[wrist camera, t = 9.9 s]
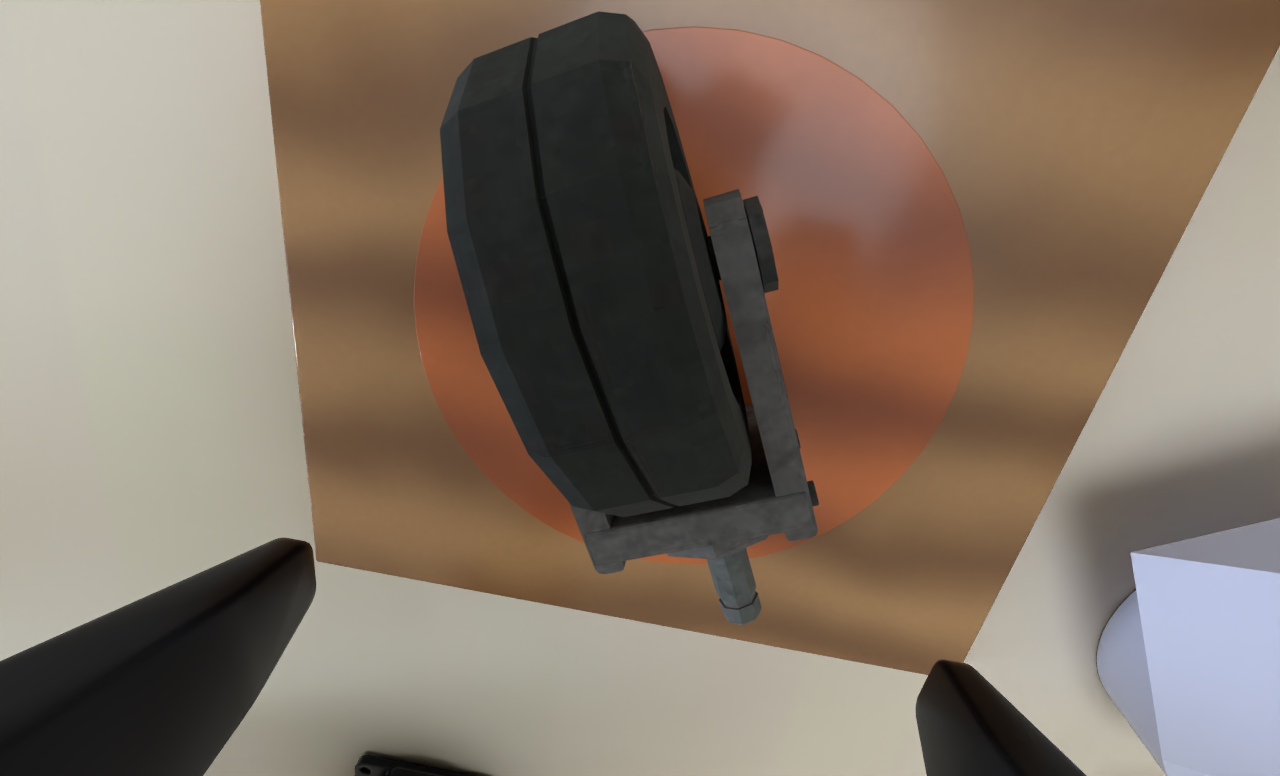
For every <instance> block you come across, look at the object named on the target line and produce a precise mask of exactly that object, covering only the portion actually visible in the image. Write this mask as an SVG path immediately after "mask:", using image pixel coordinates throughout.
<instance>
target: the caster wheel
mask: <svg viewBox="0 0 1280 776" xmlns="http://www.w3.org/2000/svg"><path fill="white" fill-rule="evenodd" d="M440 140H441V154H442V168H443V182H444V197H445V211H446V225H447V234H448V237H449V241H450V244H451V248H452V252H453V255H454V259H455V263H456V266H457V270H458V273H459V277H460V281H461V284H462V288H463V292H464V295H465V299H466V303H467V306H468V310H469V313H470V317H471V321H472V324H473V328H474V332H475V335H476V339H477V343H478V346H479V350H480V353H481V356H482V358H483V360H484V362H485V365H486V367H487V369H488V371H489V373H490V375H491V377H492V379H493V381H494V383H495V386H496V388H497V390H498V392H499V394H500V396H501V398H502V400H503V402H504V404H505V407H506V409H507V411H508V413H509V415H510V417H511V419H512V421H513V423H514V425H515V428H516V430H517V432H518V434H519V436H520V438H521V440H522V442H523V444H524V446H525V449H526V451H527V453H528V455H529V456H530V457H531V458H532V459H533V461H534V462H535V463H536V464H537V465H538V466H539V468H540V469H541V470H542V471H543V472H544V473H545V475H546V476H547V477H548V478H549V479H550V480H551V482H552V483H553V484H554V485H555V486H556V487H557V489H558V490H559V491H560V492H561V493H562V494H563V496H564V497H565V498H566V499H567V500H568V502H569V505H570V507H571V510H572V512H573V515H574V517H575V520H576V522H577V525H578V527H579V530H580V533H581V535H582V538H583V540H584V543H585V545H586V548H587V550H588V553H589V555H590V558H591V561H592V563H593V566H594V568H595V570H596V571H597V572H598V573H599V574H610V573H616V572H621V571H622V570H624V567H625V563H626V561H627V560H633V559H638V558H644V557H650V556H655V555H661V554H666V553H667V554H668V556H672V557H686V558H700V559H707V562H708V566H709V569H710V573H711V576H712V580H713V583H714V586H715V590H716V593H717V594H718V595H719V597H720V599H719V602H720V605H721V609H722V612H723V614H724V616H725V617H726V619H727V620H728V622H729V623H731V624H739V625H745V624H747V623H749V622H752V621H754V620H756V619H757V617H758V615H759V613H760V611H761V608H762V607H761V603H760V599H759V596H758V593H757V592H756V591H755V589H756V583H755V579H754V575H753V572H752V568H751V564H750V561H749V557H748V553H747V549H746V547H749V546H751V545H753V544H756V543H758V542H761V541H763V540H765V539H767V537H768V535H773V534H778V533H784V532H785V535H786V538H787V539H788V541H798V540H804V539H810V538H812V537H814V536H816V535H817V531H818V528H817V523H816V519H815V514H814V510H813V506H818V505H819V501H818V497H817V493H816V489H815V485H814V482H813V480H812V481H807V479H806V475H805V470H804V466H803V462H802V457H801V453H800V448H801V446H800V441H799V437H798V433H797V430H796V429H795V426H794V422H793V418H792V413H791V409H790V404H789V400H788V396H787V391H786V387H785V382H784V378H783V374H782V369H781V365H780V360H779V356H778V352H777V347H776V343H775V338H774V334H773V330H772V325H771V321H770V316H769V312H768V308H767V303H766V299H765V294H764V293H767V292H771V291H775V290H778V285H779V281H778V275H777V270H776V265H775V260H774V255H773V249H772V245H771V241H770V237H769V233H768V229H767V225H766V221H765V217H764V213H763V209H762V207H761V204H760V201H759V198H758V196H754V197H751V198H747V199H744V200H743V201H742V197H741V194H740V191H739V189H736V190H733V191H730V192H726V193H723V194H720V195H716V196H713V197H710V198H706V199H703V203H704V209H705V214H706V218H707V223H708V227H709V231H710V236H709V237H708V235H707V231H706V227H705V224H704V220H703V217H702V213H701V209H700V206H699V203H698V200H697V197H696V194H695V191H694V187H693V183H692V179H691V176H690V172H689V168H688V165H687V161H686V158H685V154H684V150H683V147H682V143H681V139H680V136H679V132H678V128H677V125H676V122H675V118H674V115H673V112H672V108H671V105H670V102H669V98H668V95H667V92H666V88H665V85H664V82H663V79H662V75H661V73H660V70H659V67H658V64H657V62H656V59H655V56H654V53H653V51H652V48H651V45H650V42H649V41H648V39H647V38H646V36H645V35H644V34H643V32H642V31H641V29H640V28H639V27H638V25H637V24H636V22H635V21H634V20H633V19H631V18H630V17H629V16H627V15H626V14H618V13H609V12H599V11H598V12H595V13H593V14H590V15H588V16H585V17H582V18H580V19H577V20H574V21H572V22H569V23H567V24H564V25H561V26H559V27H556V28H553V29H551V30H548V31H545V32H543V33H540V34H539V35H538V38H534V37H530V38H527V39H524V40H522V41H519V42H517V43H514V44H511V45H509V46H506V47H503V48H501V49H498V50H496V51H493V52H490V53H488V54H485V55H482V56H480V57H477V58H474V59H473V60H472V62H471V63H470V64H469V65H468V66H467V67H466V68H465V70H464V71H463V72H462V73H461V74H460V75H459V76H458V78H457V80H456V83H455V86H454V89H453V92H452V95H451V98H450V101H449V104H448V107H447V110H446V112H445V115H444V118H443V121H442V124H441V127H440ZM743 204H744V205H743ZM719 280H722V284H723V288H724V292H725V296H726V300H727V304H728V308H729V312H730V316H731V320H732V324H733V328H734V332H735V336H736V340H737V344H738V348H739V352H740V356H741V360H742V364H743V368H744V372H745V376H746V380H747V384H748V388H749V392H750V396H751V400H752V404H753V405H751V406H747V407H745V404H744V399H743V394H742V389H741V384H740V379H739V375H738V370H737V365H736V360H735V355H734V351H733V347H732V342H731V338H730V333H729V329H728V325H727V318H726V312H725V307H724V302H723V297H722V293H721V288H720V284H719Z"/></svg>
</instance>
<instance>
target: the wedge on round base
mask: <svg viewBox="0 0 1280 776" xmlns="http://www.w3.org/2000/svg"><path fill="white" fill-rule="evenodd" d="M1130 553H1131V559H1132V566H1133V572H1134V579H1135V585H1136V591H1134V592H1133V593H1132V594H1131V595H1130V596H1129V597H1128V598H1127V599H1126V600H1125V601H1124V602H1123V603H1122V604H1121V605H1120V606H1119V607H1118V609H1117V610H1116V611H1115V613H1114V614H1113V616H1112V617H1111V618H1110V620H1109V621H1108V623H1107V625H1106V627H1105V629H1104V631H1103V633H1102V636H1101V639H1100V642H1099V645H1098V651H1097V670H1098V674H1099V677H1100V681H1101V683H1102V685H1103V687H1104V689H1105V690H1106V692H1107V694H1108V695H1109V696H1110V698H1111V699H1112V701H1113V702H1114V703H1115V705H1116V706H1117V708H1118V709H1119V710H1120V712H1121V713H1122V715H1123V716H1124V717H1125V719H1126V720H1127V722H1128V723H1129V724H1130V726H1131V727H1132V729H1133V730H1134V731H1135V733H1136V734H1137V736H1138V737H1139V738H1140V740H1141V741H1142V743H1143V744H1144V745H1145V747H1146V748H1147V749H1148V751H1149V752H1150V754H1151V755H1152V756H1153V758H1154V759H1155V761H1156V762H1157V763H1158V765H1159V766H1160V768H1161V769H1162V770H1163V772H1164V773H1165V775H1166V776H1280V518H1277V519H1272V520H1268V521H1264V522H1259V523H1255V524H1251V525H1246V526H1242V527H1238V528H1233V529H1229V530H1225V531H1220V532H1216V533H1212V534H1208V535H1203V536H1199V537H1195V538H1190V539H1186V540H1182V541H1177V542H1173V543H1169V544H1164V545H1160V546H1156V547H1151V548H1147V549H1143V550H1139V551H1134V552H1130Z"/></svg>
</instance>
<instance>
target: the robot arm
mask: <svg viewBox="0 0 1280 776" xmlns="http://www.w3.org/2000/svg"><path fill="white" fill-rule="evenodd" d="M315 591H316V577H315V567H314V557H313V550H312V547H311V545H310V544H309V543H307V542H305V541H301V540H295V539H290V538H278V539H275V540H273V541H270V542H268V543H266V544H264V545H261V546H259V547H257V548H255V549H252V550H250V551H248V552H246V553H243V554H241V555H239V556H237V557H234V558H232V559H230V560H228V561H225V562H223V563H221V564H219V565H216V566H214V567H212V568H210V569H207V570H205V571H203V572H201V573H198V574H196V575H194V576H192V577H189V578H187V579H185V580H183V581H180V582H178V583H176V584H174V585H171V586H169V587H167V588H165V589H162V590H160V591H158V592H156V593H153V594H151V595H149V596H146V597H144V598H142V599H140V600H137V601H135V602H133V603H131V604H128V605H126V606H124V607H122V608H119V609H117V610H115V611H113V612H110V613H108V614H106V615H104V616H101V617H99V618H97V619H95V620H92V621H90V622H88V623H86V624H83V625H81V626H79V627H77V628H74V629H72V630H70V631H68V632H65V633H63V634H61V635H59V636H56V637H54V638H52V639H50V640H47V641H45V642H43V643H40V644H38V645H36V646H34V647H31V648H29V649H27V650H25V651H22V652H20V653H18V654H16V655H13V656H11V657H9V658H7V659H4V660H2V661H0V776H203V775H204V773H205V772H206V771H207V769H208V768H209V766H210V765H211V764H212V762H213V761H214V759H215V758H216V756H217V755H218V754H219V752H220V751H221V749H222V748H223V747H224V745H225V744H226V742H227V741H228V739H229V738H230V737H231V735H232V734H233V732H234V731H235V730H236V728H237V727H238V725H239V724H240V722H241V721H242V720H243V718H244V717H245V715H246V714H247V712H248V711H249V709H250V708H251V706H252V705H253V703H254V702H255V700H256V698H257V697H258V695H259V693H260V692H261V690H262V688H263V687H264V685H265V683H266V682H267V680H268V678H269V676H270V675H271V673H272V671H273V669H274V668H275V666H276V664H277V662H278V661H279V659H280V657H281V655H282V654H283V652H284V650H285V648H286V647H287V645H288V643H289V641H290V640H291V638H292V636H293V634H294V633H295V631H296V629H297V627H298V626H299V624H300V622H301V620H302V619H303V617H304V615H305V613H306V612H307V610H308V608H309V606H310V605H311V603H312V601H313V598H314V595H315ZM916 719H917V724H918V730H919V735H920V741H921V747H922V752H923V758H924V763H925V769H926V774H927V776H1086V775H1085V774H1084V773H1083V772H1082V771H1081V770H1080V769H1079V768H1078V767H1077V766H1076V765H1075V764H1074V763H1073V762H1072V761H1071V760H1070V759H1069V758H1068V757H1066V756H1065V755H1064V754H1063V753H1062V752H1061V751H1060V750H1059V749H1058V748H1057V747H1056V746H1055V745H1054V744H1053V743H1052V742H1051V741H1050V740H1049V739H1048V738H1047V737H1046V736H1045V735H1043V734H1042V733H1041V732H1040V731H1039V730H1038V729H1037V728H1036V727H1035V726H1034V725H1033V724H1032V723H1031V722H1030V721H1029V720H1028V719H1027V718H1026V717H1025V716H1024V715H1023V714H1022V713H1020V712H1019V711H1018V710H1017V709H1016V708H1015V707H1014V706H1013V705H1012V704H1011V703H1010V702H1009V701H1008V700H1007V699H1006V698H1005V697H1004V696H1003V695H1002V694H1001V693H1000V692H998V691H997V690H996V689H995V688H994V687H993V686H992V685H991V684H990V683H989V682H988V681H987V680H986V679H985V678H984V677H983V676H982V675H981V674H980V673H979V672H978V671H977V670H975V669H974V668H973V667H972V666H970V665H968V664H965V663H961V662H955V661H950V660H944V659H942V660H938V661H937V662H936V663H935V664H934V665H933V667H932V669H931V671H930V673H929V675H928V677H927V679H926V681H925V683H924V685H923V688H922V690H921V692H920V694H919V696H918V698H917V702H916ZM355 775H356V776H472V775H467V774H462V773H457V772H452V771H447V770H441V769H436V768H431V767H426V766H421V765H416V764H411V763H406V762H401V761H396V760H391V759H385V758H380V757H375V756H370V755H364V756H362V757H360V759H359V761H358V763H357V764H356V766H355Z"/></svg>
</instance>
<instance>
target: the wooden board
mask: <svg viewBox="0 0 1280 776" xmlns="http://www.w3.org/2000/svg"><path fill="white" fill-rule="evenodd" d="M260 5H261V15H262V25H263V35H264V45H265V55H266V65H267V75H268V85H269V95H270V105H271V115H272V125H273V134H274V144H275V154H276V164H277V174H278V184H279V194H280V204H281V214H282V224H283V234H284V244H285V254H286V264H287V274H288V283H289V293H290V303H291V313H292V323H293V333H294V343H295V353H296V363H297V373H298V383H299V393H300V403H301V413H302V423H303V433H304V442H305V452H306V462H307V472H308V482H309V492H310V502H311V512H312V522H313V532H314V542H315V552H316V560H317V561H318V562H324V563H329V564H335V565H340V566H345V567H351V568H356V569H361V570H367V571H372V572H378V573H383V574H388V575H394V576H399V577H404V578H410V579H415V580H421V581H426V582H431V583H437V584H442V585H447V586H453V587H458V588H463V589H469V590H474V591H480V592H485V593H490V594H496V595H501V596H506V597H512V598H517V599H523V600H528V601H533V602H539V603H544V604H549V605H555V606H560V607H566V608H571V609H576V610H582V611H587V612H592V613H598V614H603V615H608V616H614V617H619V618H625V619H630V620H635V621H641V622H646V623H651V624H657V625H662V626H668V627H673V628H678V629H684V630H689V631H694V632H700V633H705V634H710V635H716V636H721V637H727V638H732V639H737V640H743V641H748V642H753V643H759V644H764V645H770V646H775V647H780V648H786V649H791V650H796V651H802V652H807V653H813V654H818V655H823V656H829V657H834V658H839V659H845V660H850V661H855V662H861V663H866V664H872V665H877V666H882V667H888V668H893V669H898V670H904V671H909V672H915V673H920V674H925V675H929V673H930V671H931V669H932V667H933V665H934V664H935V663H936V662H937V661H938V660H942V659H944V660H950V661H955V662H961V663H963V661H964V660H965V658H966V656H967V654H968V652H969V650H970V648H971V646H972V644H973V642H974V640H975V638H976V636H977V634H978V632H979V630H980V628H981V626H982V624H983V623H984V621H985V619H986V617H987V615H988V613H989V611H990V609H991V607H992V605H993V603H994V601H995V599H996V597H997V595H998V593H999V591H1000V589H1001V587H1002V585H1003V584H1004V582H1005V580H1006V578H1007V576H1008V574H1009V572H1010V570H1011V568H1012V566H1013V564H1014V562H1015V560H1016V558H1017V556H1018V554H1019V552H1020V550H1021V548H1022V547H1023V545H1024V543H1025V541H1026V539H1027V537H1028V535H1029V533H1030V531H1031V529H1032V527H1033V525H1034V523H1035V521H1036V519H1037V517H1038V515H1039V513H1040V511H1041V510H1042V508H1043V506H1044V504H1045V502H1046V500H1047V498H1048V496H1049V494H1050V492H1051V490H1052V488H1053V486H1054V484H1055V482H1056V480H1057V478H1058V476H1059V474H1060V473H1061V471H1062V469H1063V467H1064V465H1065V463H1066V461H1067V459H1068V457H1069V455H1070V453H1071V451H1072V449H1073V447H1074V445H1075V443H1076V441H1077V439H1078V437H1079V436H1080V434H1081V432H1082V430H1083V428H1084V426H1085V424H1086V422H1087V420H1088V418H1089V416H1090V414H1091V412H1092V410H1093V408H1094V406H1095V404H1096V402H1097V400H1098V399H1099V397H1100V395H1101V393H1102V391H1103V389H1104V387H1105V385H1106V383H1107V381H1108V379H1109V377H1110V375H1111V373H1112V371H1113V369H1114V367H1115V365H1116V363H1117V362H1118V360H1119V358H1120V356H1121V354H1122V352H1123V350H1124V348H1125V346H1126V344H1127V342H1128V340H1129V338H1130V336H1131V334H1132V332H1133V330H1134V328H1135V326H1136V325H1137V323H1138V321H1139V319H1140V317H1141V315H1142V313H1143V311H1144V309H1145V307H1146V305H1147V303H1148V301H1149V299H1150V297H1151V295H1152V293H1153V291H1154V289H1155V288H1156V286H1157V284H1158V282H1159V280H1160V278H1161V276H1162V274H1163V272H1164V270H1165V268H1166V266H1167V264H1168V262H1169V260H1170V258H1171V256H1172V254H1173V252H1174V250H1175V249H1176V247H1177V245H1178V243H1179V241H1180V239H1181V237H1182V235H1183V233H1184V231H1185V229H1186V227H1187V225H1188V223H1189V221H1190V219H1191V217H1192V215H1193V213H1194V212H1195V210H1196V208H1197V206H1198V204H1199V202H1200V200H1201V198H1202V196H1203V194H1204V192H1205V190H1206V188H1207V186H1208V184H1209V182H1210V180H1211V178H1212V176H1213V175H1214V173H1215V171H1216V169H1217V167H1218V165H1219V163H1220V161H1221V159H1222V157H1223V155H1224V153H1225V151H1226V149H1227V147H1228V145H1229V143H1230V141H1231V139H1232V138H1233V136H1234V134H1235V132H1236V130H1237V128H1238V126H1239V124H1240V122H1241V120H1242V118H1243V116H1244V114H1245V112H1246V110H1247V108H1248V106H1249V104H1250V102H1251V101H1252V99H1253V97H1254V95H1255V93H1256V91H1257V89H1258V87H1259V85H1260V83H1261V81H1262V79H1263V77H1264V75H1265V73H1266V71H1267V69H1268V67H1269V65H1270V64H1271V62H1272V60H1273V58H1274V56H1275V54H1276V52H1277V50H1278V48H1279V46H1280V0H260ZM598 11H599V12H609V13H618V14H626V15H627V16H629V17H630V18H631V19H633V20H634V21H635V22H636V24H637V25H638V27H639V28H640V29H641V31H642V32H643V34H644V35H645V36H646V38H647V39H648V41H649V42H650V45H651V48H652V51H653V53H654V56H655V59H656V62H657V64H658V67H659V70H660V73H661V75H662V79H663V82H664V85H665V88H666V92H667V95H668V98H669V102H670V105H671V108H672V112H673V115H674V118H675V122H676V125H677V128H678V132H679V136H680V139H681V143H682V147H683V150H684V154H685V158H686V161H687V165H688V168H689V172H690V176H691V179H692V183H693V187H694V191H695V194H696V197H697V200H698V203H699V206H700V209H701V213H702V217H703V220H704V224H705V227H706V231H707V235H708V237H709V236H710V231H709V227H708V223H707V218H706V214H705V209H704V203H703V199H706V198H710V197H713V196H716V195H720V194H723V193H726V192H730V191H733V190H736V189H739V191H740V194H741V197H742V201H743V200H744V199H747V198H751V197H754V196H758V198H759V201H760V204H761V207H762V209H763V213H764V217H765V221H766V225H767V229H768V233H769V237H770V241H771V245H772V249H773V255H774V260H775V265H776V270H777V275H778V281H779V285H778V290H775V291H771V292H767V293H764V294H765V299H766V303H767V308H768V312H769V316H770V321H771V325H772V330H773V334H774V338H775V343H776V347H777V352H778V356H779V360H780V365H781V369H782V374H783V378H784V382H785V387H786V391H787V396H788V400H789V404H790V409H791V413H792V418H793V422H794V426H795V429H796V430H797V433H798V437H799V441H800V446H801V448H800V453H801V457H802V462H803V466H804V470H805V475H806V479H807V481H812V480H813V482H814V485H815V489H816V493H817V497H818V501H819V505H818V506H813V510H814V514H815V519H816V523H817V528H818V531H817V535H816V536H814V537H812V538H810V539H804V540H798V541H788V539H787V538H786V535H785V532H784V533H778V534H773V535H768V537H767V539H765V540H763V541H761V542H758V543H756V544H753V545H751V546H749V547H746V549H747V553H748V557H749V561H750V564H751V568H752V572H753V575H754V579H755V583H756V589H755V591H756V592H757V593H758V596H759V599H760V603H761V607H762V608H761V611H760V613H759V615H758V617H757V619H756V620H754V621H752V622H749V623H747V624H745V625H739V624H731V623H729V622H728V620H727V619H726V617H725V616H724V614H723V612H722V609H721V605H720V602H719V599H720V597H719V595H718V594H717V593H716V590H715V586H714V583H713V580H712V576H711V573H710V569H709V566H708V562H707V559H700V558H686V557H672V556H668V554H667V553H666V554H661V555H655V556H650V557H644V558H638V559H633V560H627V561H626V563H625V567H624V570H622V571H621V572H616V573H610V574H599V573H598V572H597V571H596V570H595V568H594V566H593V563H592V561H591V558H590V555H589V553H588V550H587V548H586V545H585V543H584V540H583V538H582V535H581V533H580V530H579V527H578V525H577V522H576V520H575V517H574V515H573V512H572V510H571V507H570V505H569V502H568V500H567V499H566V498H565V497H564V496H563V494H562V493H561V492H560V491H559V490H558V489H557V487H556V486H555V485H554V484H553V483H552V482H551V480H550V479H549V478H548V477H547V476H546V475H545V473H544V472H543V471H542V470H541V469H540V468H539V466H538V465H537V464H536V463H535V462H534V461H533V459H532V458H531V457H530V456H529V455H528V453H527V451H526V449H525V446H524V444H523V442H522V440H521V438H520V436H519V434H518V432H517V430H516V428H515V425H514V423H513V421H512V419H511V417H510V415H509V413H508V411H507V409H506V407H505V404H504V402H503V400H502V398H501V396H500V394H499V392H498V390H497V388H496V386H495V383H494V381H493V379H492V377H491V375H490V373H489V371H488V369H487V367H486V365H485V362H484V360H483V358H482V356H481V353H480V350H479V346H478V343H477V339H476V335H475V332H474V328H473V324H472V321H471V317H470V313H469V310H468V306H467V303H466V299H465V295H464V292H463V288H462V284H461V281H460V277H459V273H458V270H457V266H456V263H455V259H454V255H453V252H452V248H451V244H450V241H449V237H448V234H447V225H446V211H445V197H444V182H443V168H442V154H441V140H440V127H441V124H442V121H443V118H444V115H445V112H446V110H447V107H448V104H449V101H450V98H451V95H452V92H453V89H454V86H455V83H456V80H457V78H458V76H459V75H460V74H461V73H462V72H463V71H464V70H465V68H466V67H467V66H468V65H469V64H470V63H471V62H472V60H473V59H474V58H477V57H480V56H482V55H485V54H488V53H490V52H493V51H496V50H498V49H501V48H503V47H506V46H509V45H511V44H514V43H517V42H519V41H522V40H524V39H527V38H530V37H534V38H538V35H539V34H540V33H543V32H545V31H548V30H551V29H553V28H556V27H559V26H561V25H564V24H567V23H569V22H572V21H574V20H577V19H580V18H582V17H585V16H588V15H590V14H593V13H595V12H598ZM743 205H744V204H743ZM719 284H720V288H721V293H722V297H723V302H724V307H725V312H726V318H727V325H728V329H729V333H730V338H731V342H732V347H733V351H734V355H735V360H736V365H737V370H738V375H739V379H740V384H741V389H742V394H743V399H744V404H745V407H747V406H751V405H753V404H752V400H751V396H750V392H749V388H748V384H747V380H746V376H745V372H744V368H743V364H742V360H741V356H740V352H739V348H738V344H737V340H736V336H735V332H734V328H733V324H732V320H731V316H730V312H729V308H728V304H727V300H726V296H725V292H724V288H723V284H722V280H719Z"/></svg>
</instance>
